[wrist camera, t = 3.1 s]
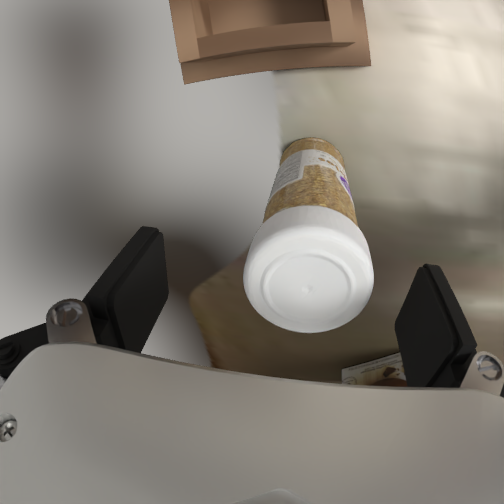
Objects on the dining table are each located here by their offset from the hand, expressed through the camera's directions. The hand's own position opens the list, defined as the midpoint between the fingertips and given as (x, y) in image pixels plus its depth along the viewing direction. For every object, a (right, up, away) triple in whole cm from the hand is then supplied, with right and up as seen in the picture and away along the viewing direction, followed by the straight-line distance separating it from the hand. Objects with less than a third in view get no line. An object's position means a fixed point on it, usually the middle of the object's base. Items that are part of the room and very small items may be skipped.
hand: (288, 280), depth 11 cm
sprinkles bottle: (+3, +7, +11) cm, 13 cm away
